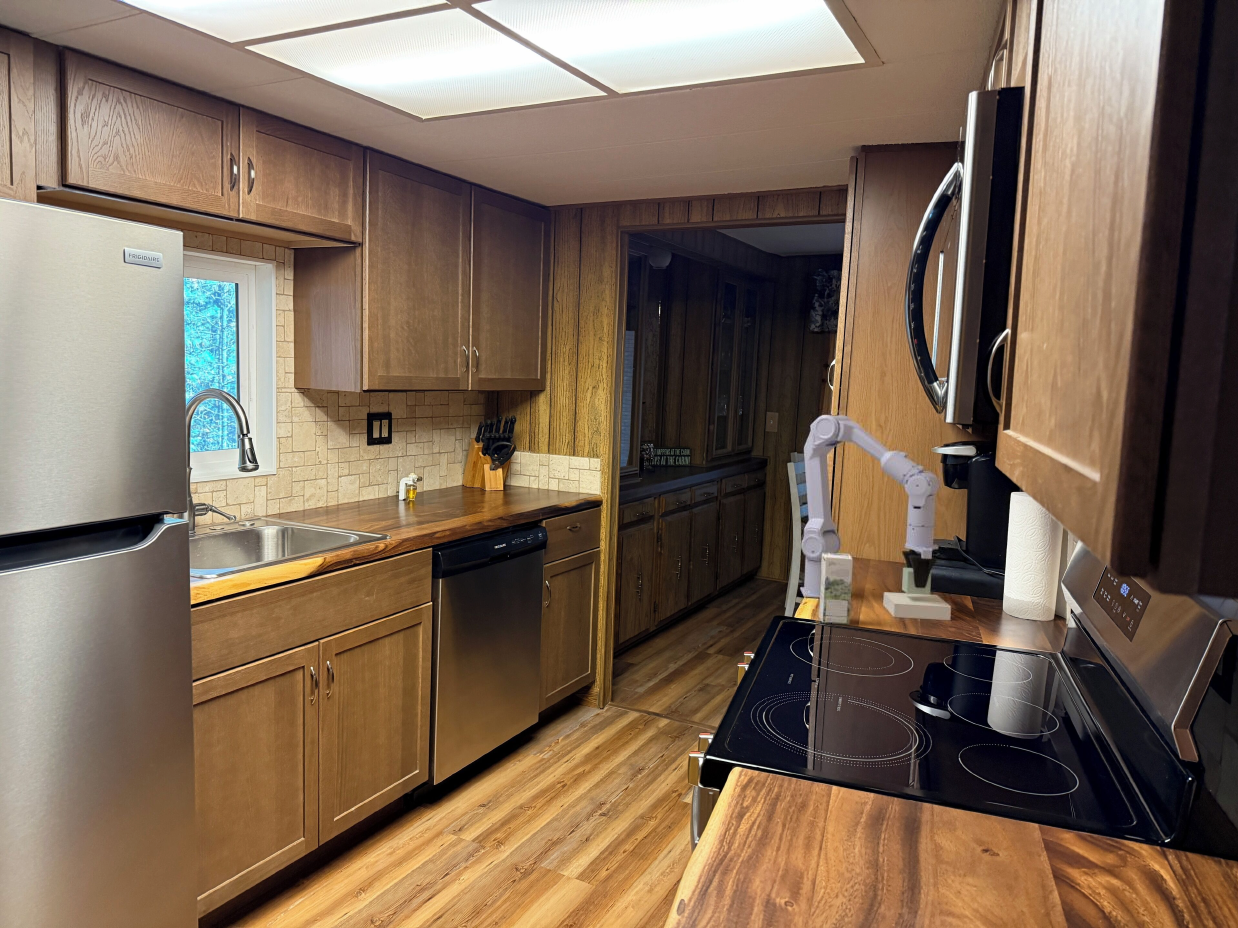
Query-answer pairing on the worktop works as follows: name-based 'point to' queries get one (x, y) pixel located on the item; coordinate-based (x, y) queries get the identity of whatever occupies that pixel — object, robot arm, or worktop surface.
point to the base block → (916, 606)
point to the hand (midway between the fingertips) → (917, 584)
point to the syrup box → (835, 588)
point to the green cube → (909, 583)
